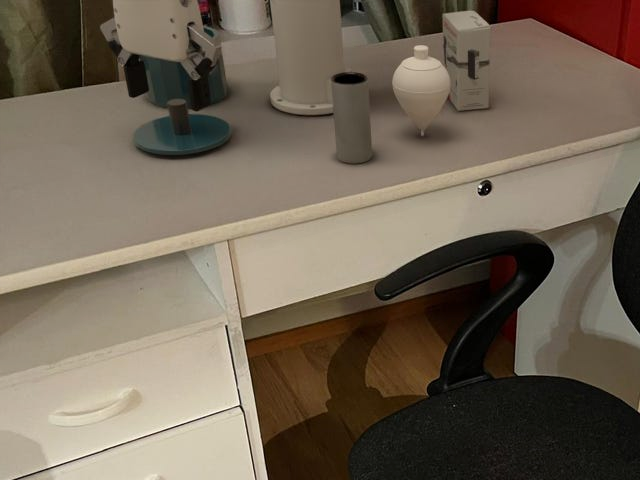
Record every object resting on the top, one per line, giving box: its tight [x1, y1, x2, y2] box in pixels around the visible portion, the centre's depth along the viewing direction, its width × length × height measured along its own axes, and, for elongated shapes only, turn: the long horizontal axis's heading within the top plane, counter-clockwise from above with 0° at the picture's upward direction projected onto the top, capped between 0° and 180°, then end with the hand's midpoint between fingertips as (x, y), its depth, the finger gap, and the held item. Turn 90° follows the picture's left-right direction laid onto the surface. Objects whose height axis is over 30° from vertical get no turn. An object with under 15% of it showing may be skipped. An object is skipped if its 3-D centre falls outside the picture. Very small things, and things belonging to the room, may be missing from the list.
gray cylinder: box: [331, 71, 373, 165], centre depth 109 cm, size 4×4×10 cm
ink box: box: [442, 10, 491, 112], centre depth 126 cm, size 8×5×12 cm, turn 17°
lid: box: [132, 99, 232, 156], centre depth 113 cm, size 12×12×5 cm
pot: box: [139, 25, 228, 109], centre depth 126 cm, size 11×11×8 cm
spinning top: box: [392, 44, 451, 137], centre depth 114 cm, size 8×8×12 cm
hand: (170, 101), depth 111 cm, fingers open, 9 cm apart
